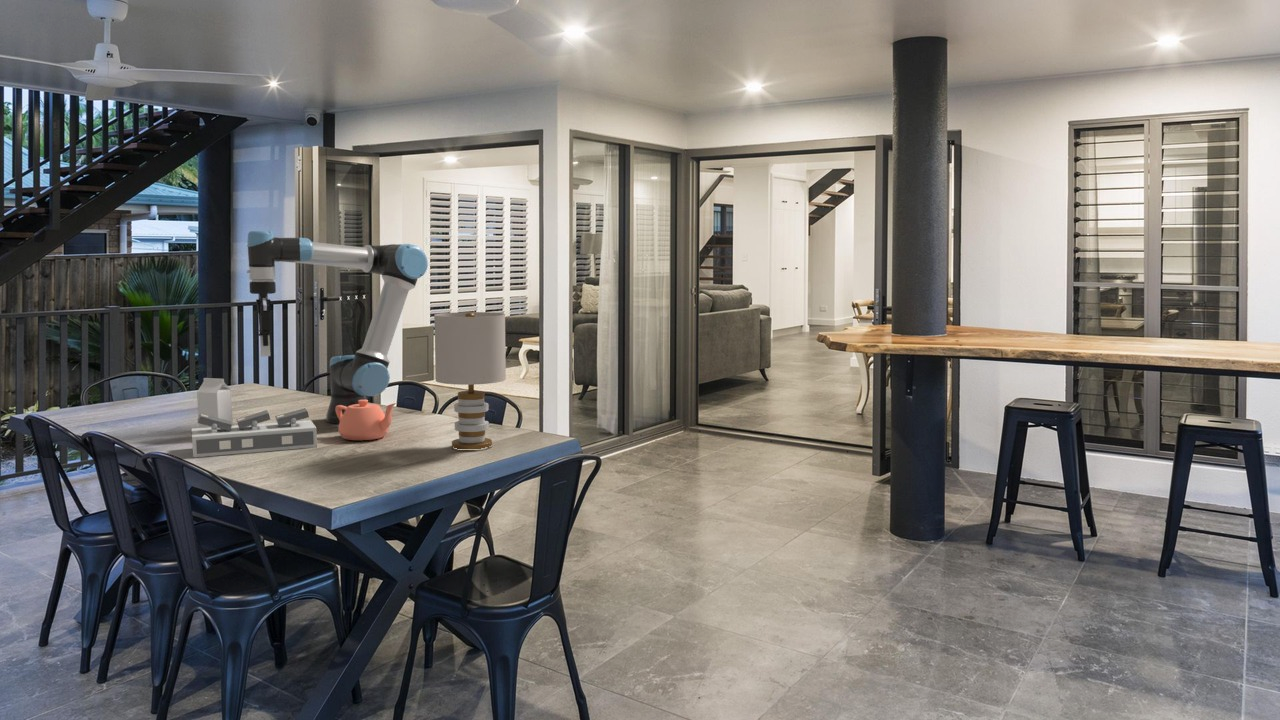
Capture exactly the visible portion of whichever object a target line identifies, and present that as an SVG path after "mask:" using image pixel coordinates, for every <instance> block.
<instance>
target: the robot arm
mask: <svg viewBox="0 0 1280 720" xmlns="http://www.w3.org/2000/svg"><path fill="white" fill-rule="evenodd" d="M246 246H247V254H248V255H247V256H248V257H247V258H248V269H247V270H246V273H247V274H249V275H248V276H249V277H248V278H249V280H250V281H249V293H250V294H252V295H258V299H255V302H256V308H257V314H258V325H259V326H258V328H259V329H258V332H259V333H257V334H258V336H259V339H260V340H259V341H260V357H261V358H262V357H271V338H270V335H272V332H271V327H270V314H271V304H272V303H271V299H270V298H268V297H269V296H268V295H269V294H275V293H276V291H277V290H276V289H277V287H276V281H274V280H276V267H275V266H276V265H275V262H278V263H279V262H282V263H283V262H284V263H295V264H306V265H316V266H326V267H328V266H329V267H336V268H337V267H338V268H346V269H347V268H348V269H358V270H359V269H360V270H362V272H364V273H369V274H376V275H381V278H382V280H383V282H384V283H383V285H382V289H381V291H380V295H379V298H378V301H377V304H376V305H375V309H374V311H373V315H372V318H371V321H370V324H369V327H368V329H367V332H366V335H365V339H364V341H363V344H362V347H361V348H360V349H357V350H356V352H355V353H354V354H350V355H348V354H347V355H338V356H332V357H331V358H330V360H329V381H330V402H329V406H328V408H327V412H326V422H327V423H331V424H336V425H337V424H338V425H339V424H340V420H339V419H338V417H337V414H336V411H335V408H336V406H337V405H343V406H346V407H348V406H350V405H355V404H359V403H358V400H367V397H375V396H378V395H380V394H382V393H383V392H384V391H385V390H386V389H387V387H388V386H389V383H390V373H389V370H388V368H389V366H390V365H389V364H390V359H389V358H388V353H389V350H390V347H391V345H392V342H393V338H394V336H395V334H396V329H397V328H398V327H397V326H398V323H399V321H400V319H401V315H402V313H403V309H404V306H405V303H406V300H407V297H408V294H409V292H410V291H411V290H412V289H415V288H416V284H417V282H418V279H420V278H421V277H423V276H424V275H425V274H426V272H427V270H428V265H429V262H428V257H427V255H426V252H424V250H423V249H422V248H421V247H419V246H417V245H414V244H409V243H403V244H401V243H400V244H398V243H397V244H394V243H393V244H392V243H391V244H383V245H381V244H380V245H371V244H365V245H364V246H363V247H362V246H355V245H344V244H336V243H335V244H334V243H328V242H327V243H326V242H316V241H312V240H310V238H307V237H276V236H275V235H274V232H273V231H271V230H270V231H269V230H251V231H249V232H248V233H247V245H246ZM367 404H369V402H368V403H367ZM344 412H345V410H343V409H342V415H343V414H344Z"/></svg>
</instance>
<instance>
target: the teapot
mask: <svg viewBox="0 0 1280 720" xmlns="http://www.w3.org/2000/svg"><path fill="white" fill-rule="evenodd" d="M358 403H359V404H355V405H350V406H348V407H346V406H343V405H337V406H336V408H335V411H336V414H337V417H338V419H339V420H340V424H338V433H339V435H340V436H341V437H342V439H345V440H348V441H349V440H350V441H363V440H369V441H373V440H376V439H377V440H378V439H381V438H384V437H385V436H386V434H387V433H388V432H389V430H390V426H391V425H392V424H391V423H392V419H393V418H392V415H393V414H392V413H393V412H392V411H393V408H394V406H395V405H396V404H397V402H395V403H394V402H393V403H390V404H387V406H386V408H385V412H384V411H383V409H382V408H381V407H380V405H378V404H377V403H369V400H368V399H366V400H358ZM367 403H368V404H367ZM342 409H343V410H345V412H344V414H343V415H342Z"/></svg>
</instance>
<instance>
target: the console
mask: <svg viewBox="0 0 1280 720" xmlns="http://www.w3.org/2000/svg"><path fill="white" fill-rule="evenodd" d="M317 434H318V432H317V427H316V425H315V424H314V423H313V421H312V420H311V419H308V420H305V419H303V420H297V421H296V423H292V422H290V423H287V424H283V425H278V423H277V421H276V422H266V423H263V422H262V423H258V424H257V425H256V426H253V425H251V426H247V427H244V428H241V429H239V426H238V424H237V425H233V426H232V427H231V429H230V431H227V430H223V429H219V428H216V429H213V428H212V427H207V428H199V427H194V428H191V443H192V458H203V457H204V458H205V457H214V456H226V455H227V456H228V455H238V454H241V455H242V454H252V453H263V452H273V451H284V450H285V451H287V450H296V449H297V450H298V449H309V448H310V449H311V448H317V447H318V439H317Z"/></svg>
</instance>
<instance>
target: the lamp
mask: <svg viewBox="0 0 1280 720" xmlns="http://www.w3.org/2000/svg"><path fill="white" fill-rule="evenodd" d="M433 317H434V319H433V321H434V322H433V323H434V352H435V353H434V357H435V358H434V360H435V362H434V364H435V365H434V366H435V382H437V383H440V384H443V385H445V384H446V385H460V386H462V385H464V386H465V385H468V387H467V389H468V390H462V391H458V392H457V401H458V402H457V403H455V404H453V406H454V407H453V408H454V410H453V411H454V412H455V413H457V416H458V421H455V422H454V430H455V431H456V432H458V438H456V439H454V440H452V441H451V448H452V447H454V448H457V449H481V448H485V447H489V446H491V445H492V446H493V441H492V439H491V438H487V437H485V436H486V431H487V430H488V429H490V426H489V421H488V420H485V418H486V417H485V416H486V412H488V411H489V403H488V402H485V396H486V395H485V391H482V390H475V385H488V384H495V383H496V384H497V383H501V382H504V381H506V380H507V377H506V376H507V375H506V373H507V372H506V368H507V367H506V363H507V361H506V314H505V313H502V312H486V311H485V312H483V311H481V312H480V311H478V312H477V311H476V312H475V311H470V312H469V311H466V312H465V311H462V312H442V313H436V314H435V313H434V315H433Z"/></svg>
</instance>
